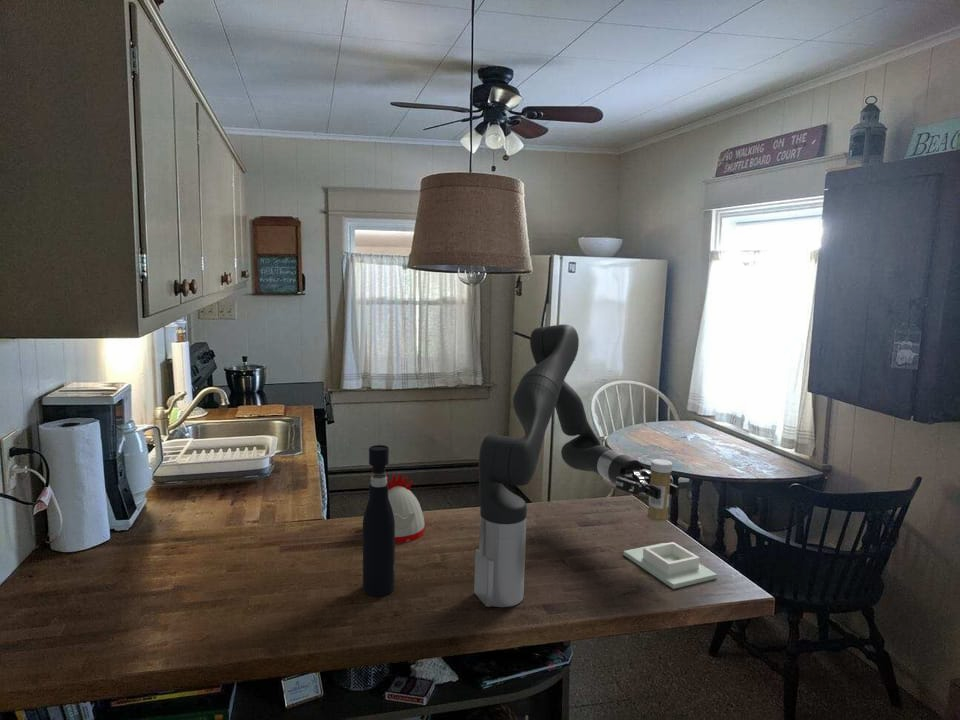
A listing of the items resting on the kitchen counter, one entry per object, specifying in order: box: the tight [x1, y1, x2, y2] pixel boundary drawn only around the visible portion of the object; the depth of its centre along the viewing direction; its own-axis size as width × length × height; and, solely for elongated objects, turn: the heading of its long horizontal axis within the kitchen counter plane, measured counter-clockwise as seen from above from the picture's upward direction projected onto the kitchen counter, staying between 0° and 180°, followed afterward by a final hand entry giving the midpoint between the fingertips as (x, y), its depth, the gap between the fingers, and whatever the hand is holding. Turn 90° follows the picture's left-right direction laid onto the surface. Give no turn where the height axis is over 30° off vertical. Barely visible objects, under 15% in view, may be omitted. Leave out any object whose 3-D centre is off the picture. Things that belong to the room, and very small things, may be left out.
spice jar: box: [646, 458, 673, 523], centre depth 146 cm, size 5×5×13 cm
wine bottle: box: [362, 444, 396, 597], centre depth 132 cm, size 6×6×30 cm
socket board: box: [623, 541, 718, 590], centre depth 147 cm, size 12×17×4 cm
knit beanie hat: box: [385, 472, 425, 544], centre depth 162 cm, size 14×14×15 cm
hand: (668, 493), depth 144 cm, fingers closed on spice jar, 4 cm apart
